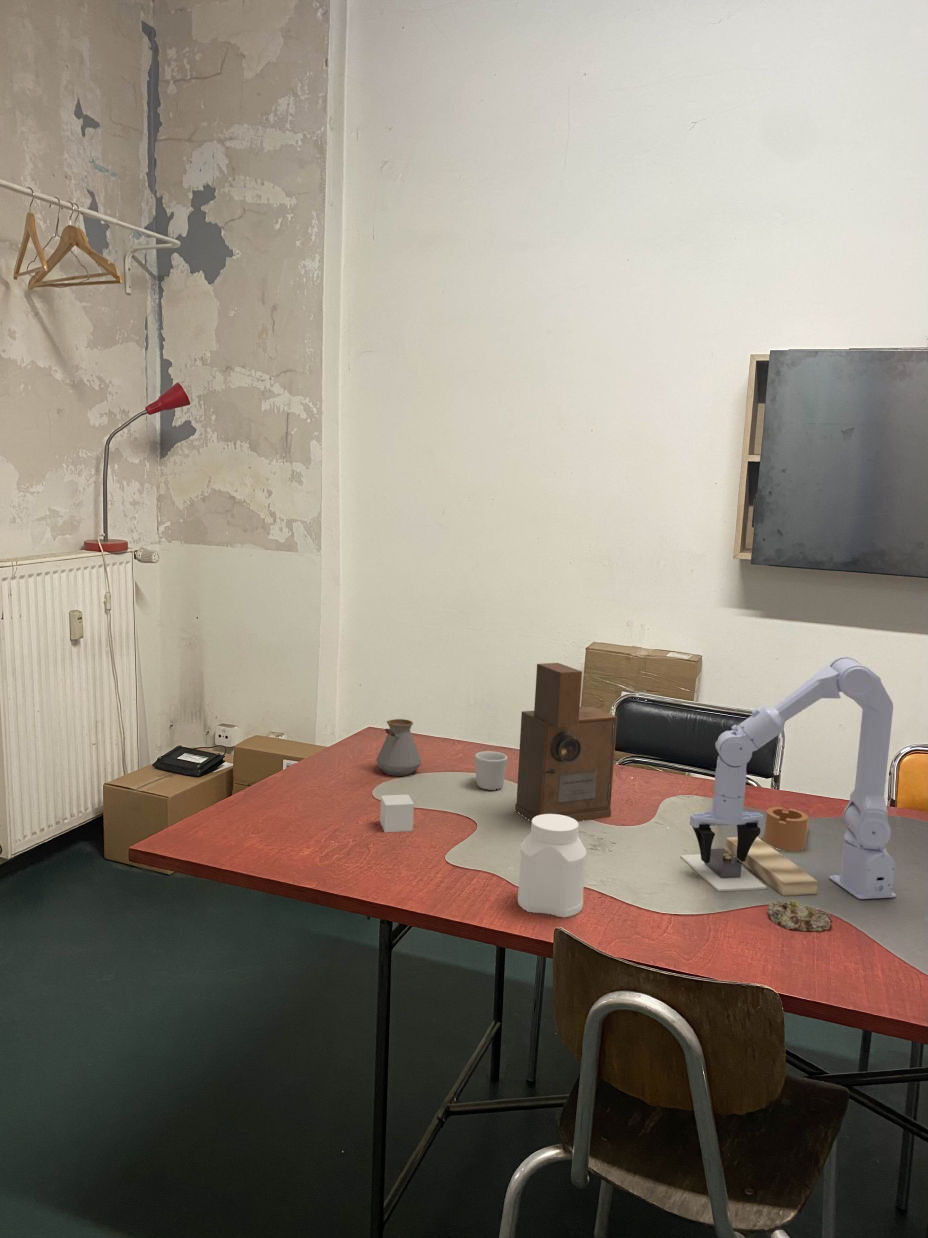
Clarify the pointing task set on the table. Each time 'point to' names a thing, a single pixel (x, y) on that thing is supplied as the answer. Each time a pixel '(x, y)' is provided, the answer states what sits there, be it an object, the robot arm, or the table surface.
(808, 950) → the table surface
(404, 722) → the coffee pot
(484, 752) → the cup
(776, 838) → the bracket
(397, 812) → the white cube
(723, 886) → the mat
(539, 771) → the vintage camera
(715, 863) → the lever cap
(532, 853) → the jar
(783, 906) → the mineral rock
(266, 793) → the table surface
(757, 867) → the body
